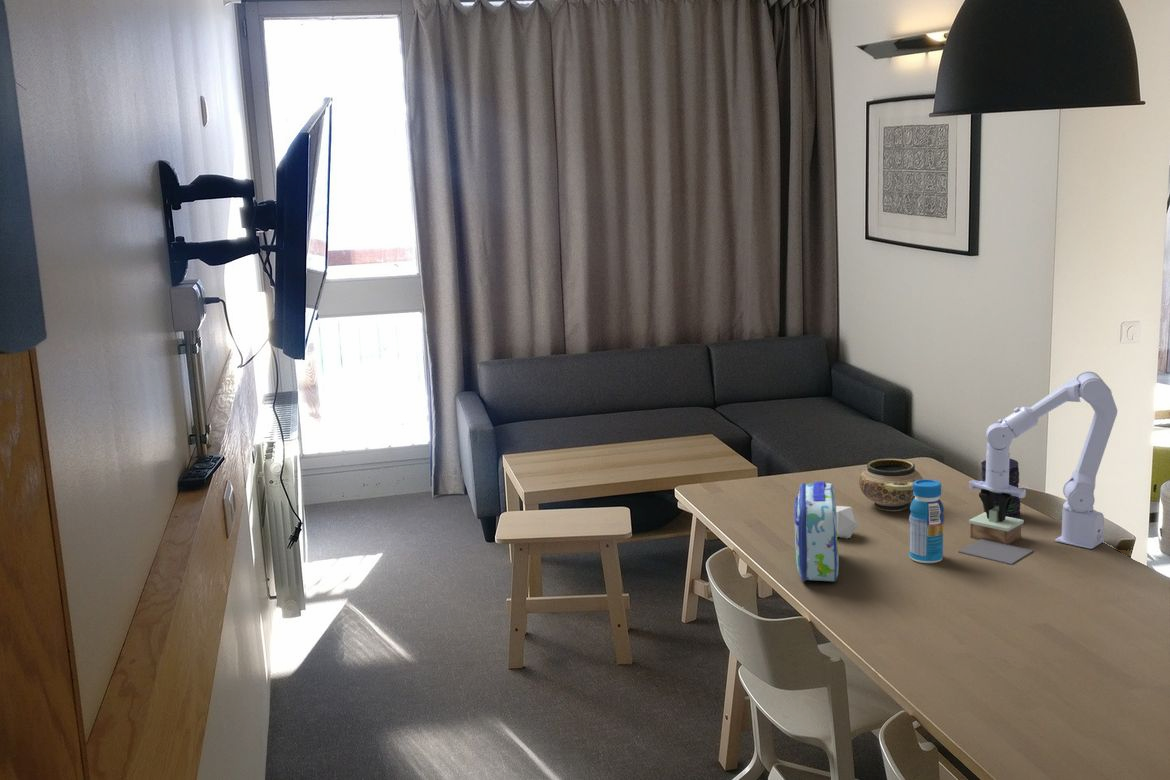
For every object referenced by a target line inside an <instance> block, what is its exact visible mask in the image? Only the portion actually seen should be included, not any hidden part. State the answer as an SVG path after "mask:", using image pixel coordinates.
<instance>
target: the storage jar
mask: <svg viewBox="0 0 1170 780" xmlns="http://www.w3.org/2000/svg"><path fill="white" fill-rule="evenodd" d="M980 463H981V464H980V466H981V481H986V459H985V460H983V461H982V462H980ZM1019 469H1020V468H1019V461H1018V460H1015V459H1013V458H1010V459H1009V485H1011V486H1014V487H1017V488H1019V483H1020V470H1019ZM1000 495H1002V494H1000V493H996V494H995V500H994V508H995V507H999V504H998V499H997V497H998V496H1000ZM982 507H983V513H984V512H986V510H985V507H984V505H983V504H982ZM1006 516H1007V517H1012V518H1016V519H1018V518H1019V517H1020V516H1021V498H1019V497H1016V496H1015V497H1014V499H1013V500H1012V502H1011V504H1010V506H1009V508H1008V511H1007V514H1006Z"/></svg>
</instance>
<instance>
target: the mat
mask: <svg viewBox="0 0 1170 780" xmlns="http://www.w3.org/2000/svg"><path fill="white" fill-rule="evenodd" d="M1033 552H1034V549H1030V548H1029V549H1028V548H1024V547H1019V546H1016V545H1011V544H1009V545H1007V544H1003V543H998V542H994V541H989V540H985V539H977V540H975V541H974V542H973V543H971V544H969V545H967V546H965V547H964V548H962V549H960V550H958V553H960V554H961V553H962V554H965V555H968V556H972V557H978V558H981V559H986V560H989V561H994V562H999V563H1001V564H1002V563H1003V564H1006V565H1011V566H1012V565H1014V564H1015V563H1016V562H1019V561H1020V560H1022V559H1024V558H1025V557H1026V556H1027V557H1028V556H1029V555H1030V554H1031V553H1033Z"/></svg>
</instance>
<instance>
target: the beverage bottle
mask: <svg viewBox="0 0 1170 780" xmlns="http://www.w3.org/2000/svg"><path fill="white" fill-rule="evenodd" d="M913 494H914V496H915V498H914V499H913V501H911V502H910V506H909V510H910V514H909V516H908V521H909V553H908V554H909V558H910V559H911V560H912V561H913V562H917V563H921V564H936V563H939V562H941V561H943V558H944V524H945V516H944V514H943V513H944V511H945V508H944V504H943V503H942V501H941V499H940V498H941V495H942V484H941V482H940V481H938V480H934V479H926V478H925V479H924V478H923V479H922V480H917V481H915V482H914V483H913Z"/></svg>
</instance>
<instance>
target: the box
mask: <svg viewBox="0 0 1170 780" xmlns="http://www.w3.org/2000/svg"><path fill="white" fill-rule="evenodd" d="M970 538H972V539H976V540H980V539H985V540H989V541H994V542H998V543H1003V544H1007V545H1008V544H1009V545H1011V544H1012V543H1014V542H1015V541H1018V540H1019V539H1021V538H1022V524H1021V525H1019V526H1017V527H1015V528H1014V529H1012V530H1010V531H1003V530H998V529H994V528H989V527H984V526H980V525H975V524H970Z"/></svg>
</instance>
